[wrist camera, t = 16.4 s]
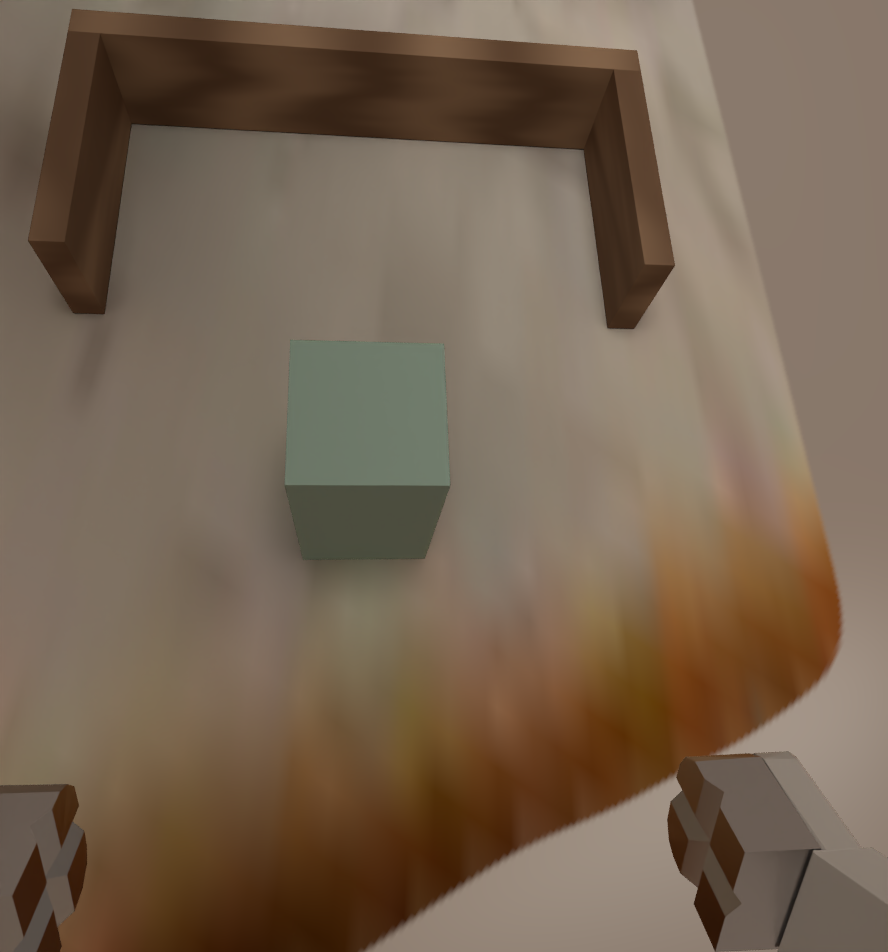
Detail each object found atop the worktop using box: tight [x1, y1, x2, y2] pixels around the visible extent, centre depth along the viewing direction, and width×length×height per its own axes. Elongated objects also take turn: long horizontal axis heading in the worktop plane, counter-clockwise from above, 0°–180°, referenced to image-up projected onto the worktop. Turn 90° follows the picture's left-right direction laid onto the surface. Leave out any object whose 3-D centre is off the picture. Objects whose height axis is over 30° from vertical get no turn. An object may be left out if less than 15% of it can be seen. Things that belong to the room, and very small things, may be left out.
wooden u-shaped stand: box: [28, 9, 675, 329], centre depth 31 cm, size 23×11×4 cm, turn 92°
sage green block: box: [285, 340, 450, 560], centre depth 25 cm, size 4×4×8 cm
